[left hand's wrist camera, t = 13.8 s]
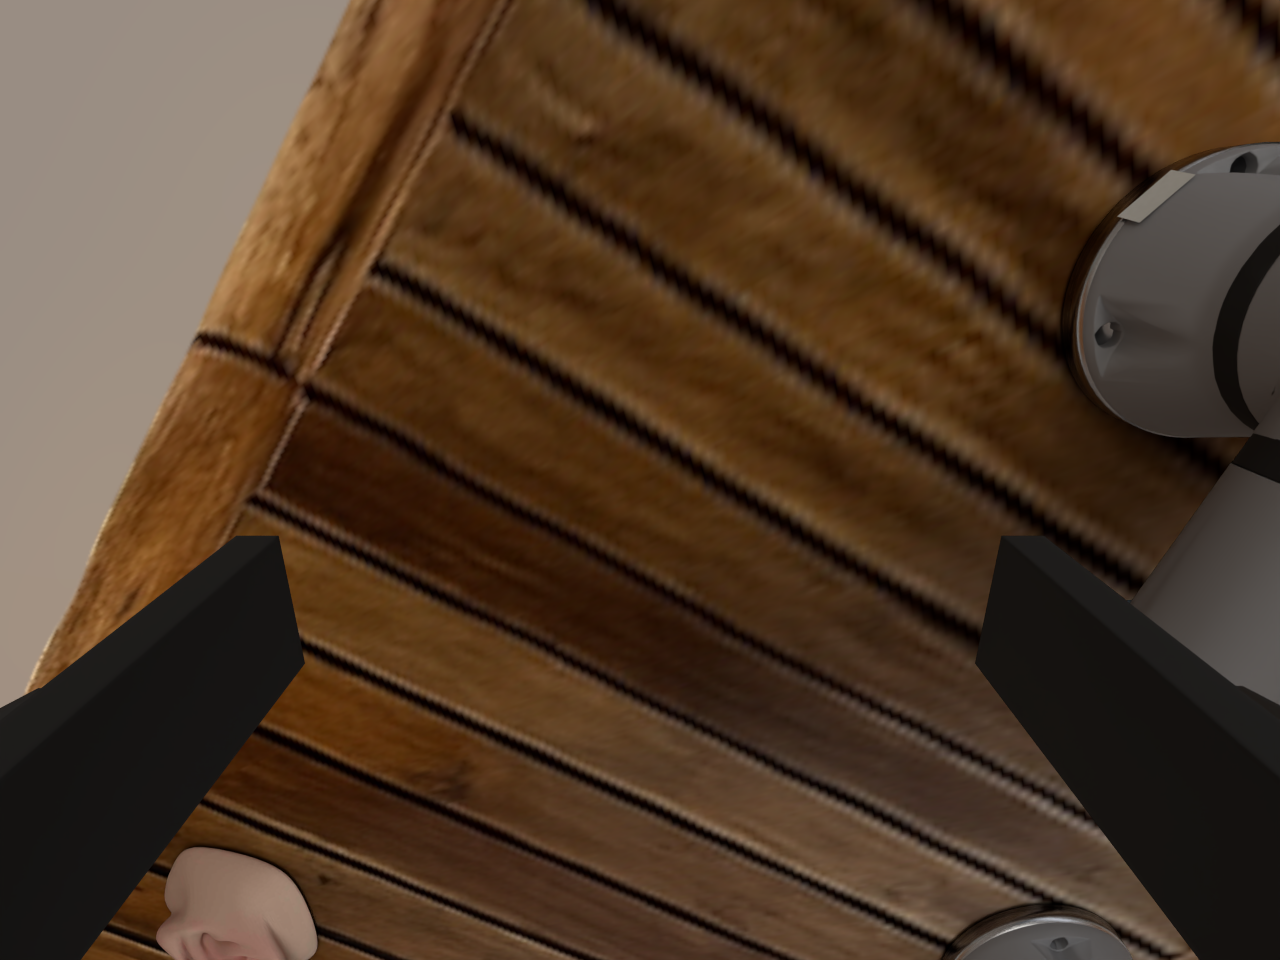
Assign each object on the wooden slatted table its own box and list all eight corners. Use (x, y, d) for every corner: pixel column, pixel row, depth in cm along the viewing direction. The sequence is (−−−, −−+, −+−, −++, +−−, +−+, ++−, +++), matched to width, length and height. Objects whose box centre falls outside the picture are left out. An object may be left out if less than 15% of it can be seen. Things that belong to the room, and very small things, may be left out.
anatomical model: (115, 891, 49) (277, 897, 49) (152, 843, 53) (303, 849, 53) (152, 1013, 54) (300, 1018, 54) (184, 961, 57) (322, 966, 58)
